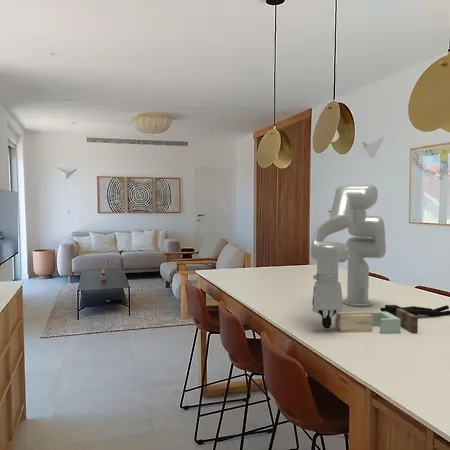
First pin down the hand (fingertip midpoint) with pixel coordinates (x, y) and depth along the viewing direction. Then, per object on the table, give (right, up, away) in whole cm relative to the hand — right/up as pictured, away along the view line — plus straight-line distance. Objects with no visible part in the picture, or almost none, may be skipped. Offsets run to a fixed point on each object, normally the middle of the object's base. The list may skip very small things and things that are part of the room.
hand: (326, 327), depth 156 cm
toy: (+45, -1, +24) cm, 51 cm away
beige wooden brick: (+10, -1, +1) cm, 10 cm away
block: (+22, -1, +2) cm, 22 cm away
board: (+18, -2, +4) cm, 18 cm away
